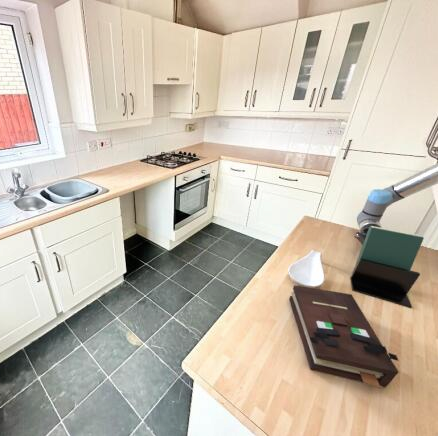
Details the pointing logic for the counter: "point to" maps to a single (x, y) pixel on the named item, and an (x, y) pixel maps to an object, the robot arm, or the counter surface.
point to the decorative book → (340, 337)
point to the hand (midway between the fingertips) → (381, 258)
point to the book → (390, 247)
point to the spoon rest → (308, 270)
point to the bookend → (383, 281)
